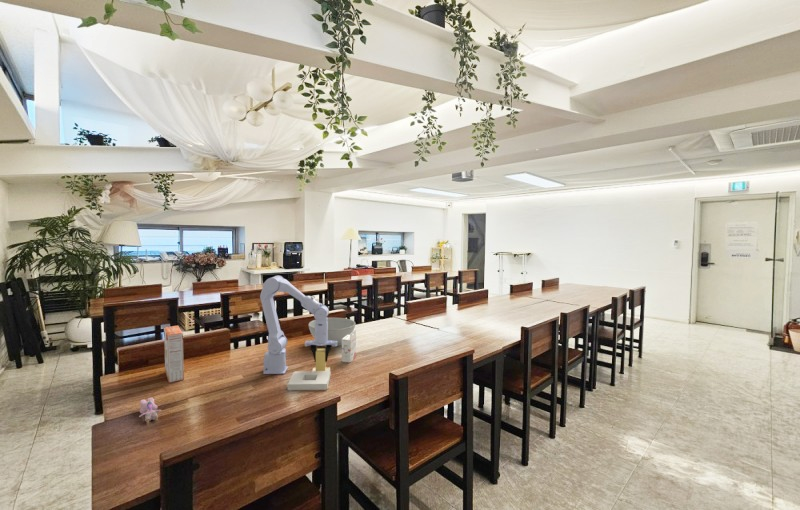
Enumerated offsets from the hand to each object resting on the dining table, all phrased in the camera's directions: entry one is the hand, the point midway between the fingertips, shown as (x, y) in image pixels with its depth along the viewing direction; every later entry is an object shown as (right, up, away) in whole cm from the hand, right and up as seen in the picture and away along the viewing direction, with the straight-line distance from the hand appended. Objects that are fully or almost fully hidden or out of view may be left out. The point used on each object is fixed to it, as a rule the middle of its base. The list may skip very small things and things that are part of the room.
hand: (321, 360), depth 161 cm
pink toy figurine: (-51, -7, -40) cm, 65 cm away
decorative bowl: (-3, -3, +41) cm, 41 cm away
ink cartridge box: (+10, -5, +17) cm, 20 cm away
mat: (0, -5, 0) cm, 5 cm away
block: (0, -4, 0) cm, 4 cm away
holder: (-2, -6, -12) cm, 13 cm away
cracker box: (-63, -4, -9) cm, 63 cm away
